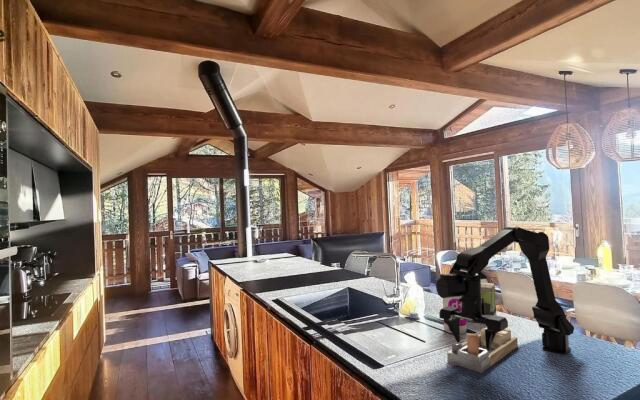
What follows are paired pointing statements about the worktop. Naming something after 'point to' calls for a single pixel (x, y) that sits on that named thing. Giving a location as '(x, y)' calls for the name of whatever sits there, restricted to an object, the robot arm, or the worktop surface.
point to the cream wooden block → (497, 338)
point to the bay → (499, 349)
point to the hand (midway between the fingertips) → (473, 346)
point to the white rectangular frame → (469, 358)
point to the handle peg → (473, 344)
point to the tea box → (488, 297)
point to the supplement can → (455, 303)
